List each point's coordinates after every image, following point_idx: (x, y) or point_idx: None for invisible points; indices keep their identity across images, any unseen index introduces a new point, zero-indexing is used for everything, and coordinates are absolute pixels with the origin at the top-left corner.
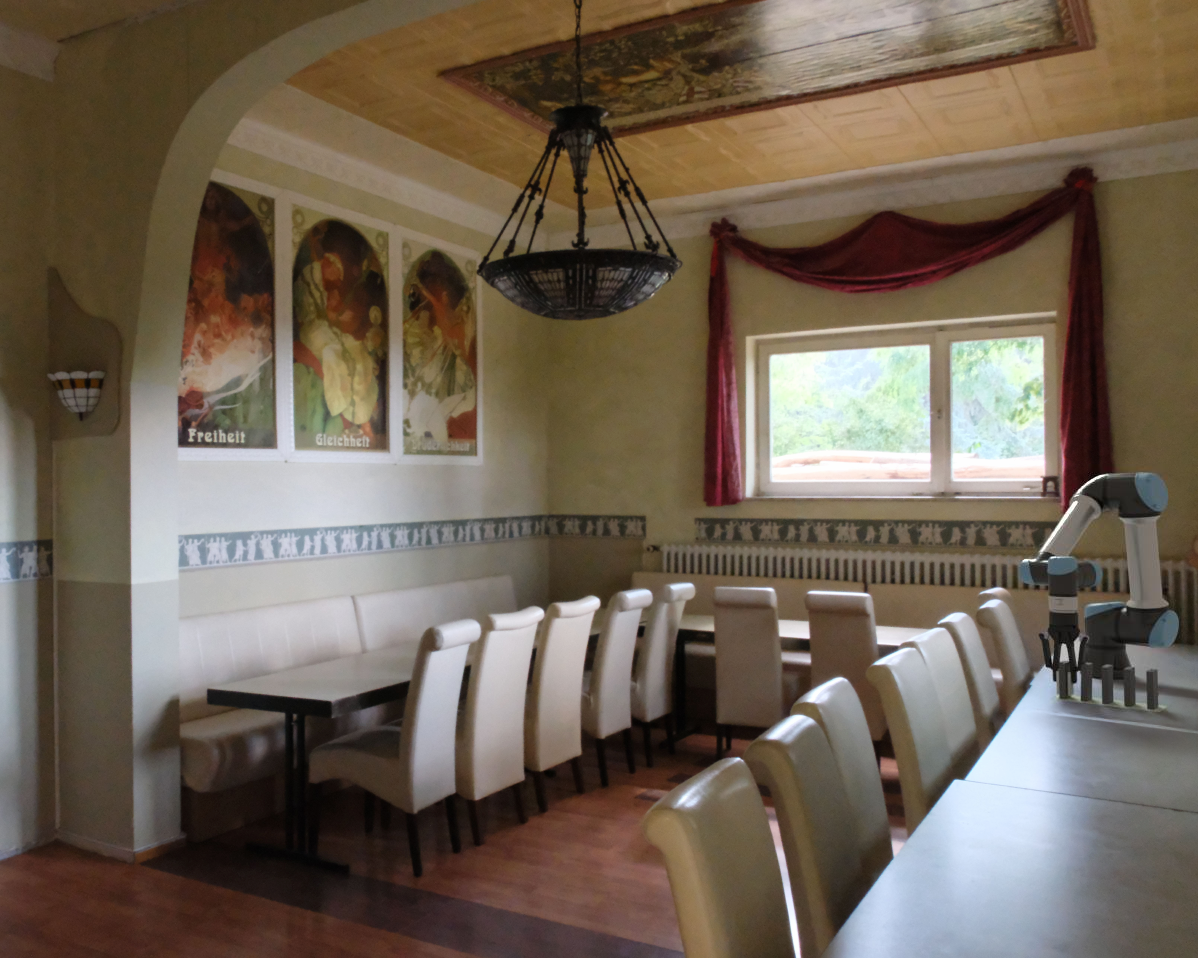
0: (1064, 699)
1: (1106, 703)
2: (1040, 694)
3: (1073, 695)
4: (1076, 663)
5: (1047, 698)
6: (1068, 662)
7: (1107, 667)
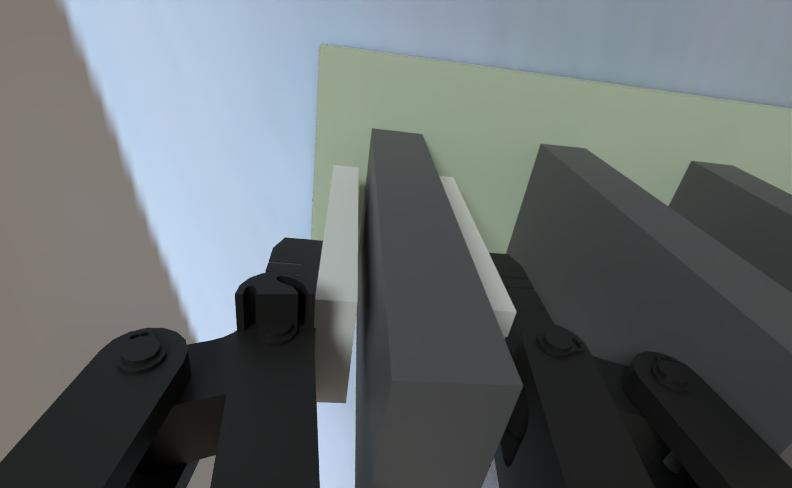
0: None
1: None
2: (130, 37)
3: (438, 78)
4: (623, 428)
5: (253, 190)
6: (488, 447)
7: None
